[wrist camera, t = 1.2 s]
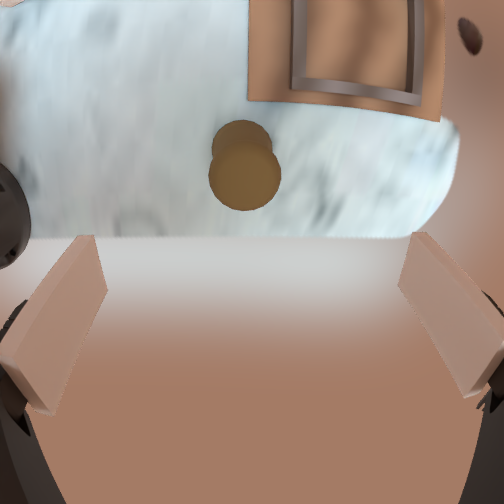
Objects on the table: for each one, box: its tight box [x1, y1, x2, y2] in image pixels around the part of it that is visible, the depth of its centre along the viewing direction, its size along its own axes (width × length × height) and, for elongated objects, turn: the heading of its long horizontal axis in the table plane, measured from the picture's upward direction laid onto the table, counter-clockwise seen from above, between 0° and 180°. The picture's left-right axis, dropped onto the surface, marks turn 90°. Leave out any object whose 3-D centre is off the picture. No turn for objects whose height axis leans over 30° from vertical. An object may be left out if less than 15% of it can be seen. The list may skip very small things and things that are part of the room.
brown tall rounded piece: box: [208, 120, 281, 211], centre depth 26 cm, size 6×6×11 cm
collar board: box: [248, 0, 445, 122], centre depth 23 cm, size 21×16×2 cm
